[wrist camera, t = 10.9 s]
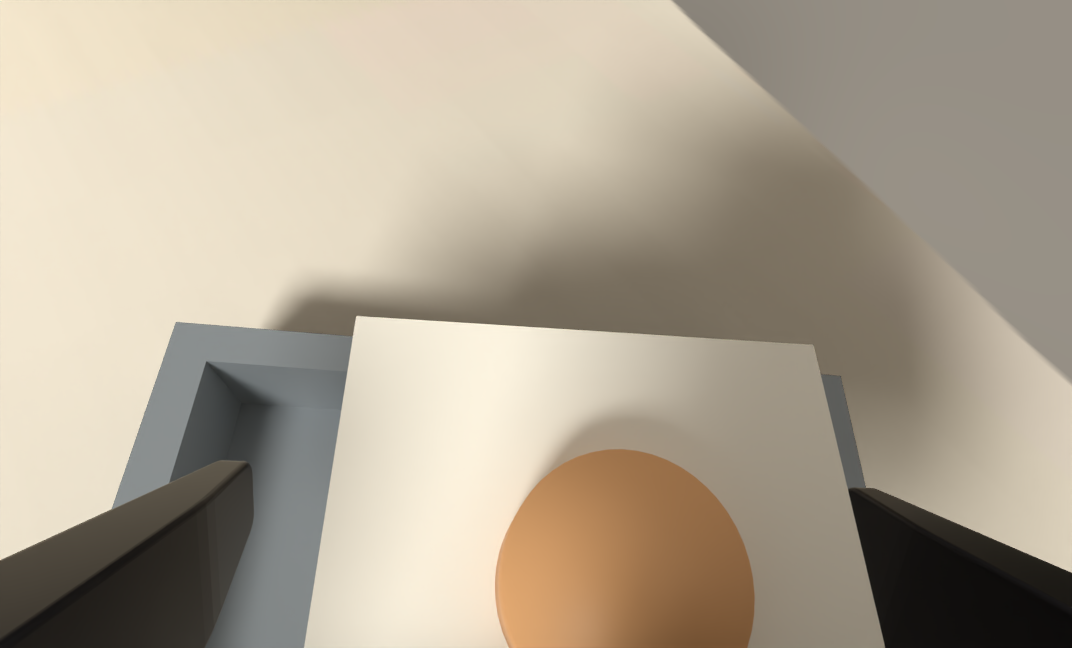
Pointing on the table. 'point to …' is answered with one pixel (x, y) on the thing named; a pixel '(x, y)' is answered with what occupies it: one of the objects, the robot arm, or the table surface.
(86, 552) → the robot arm
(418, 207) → the table surface
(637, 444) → the juice carton
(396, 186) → the table surface
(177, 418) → the tote
